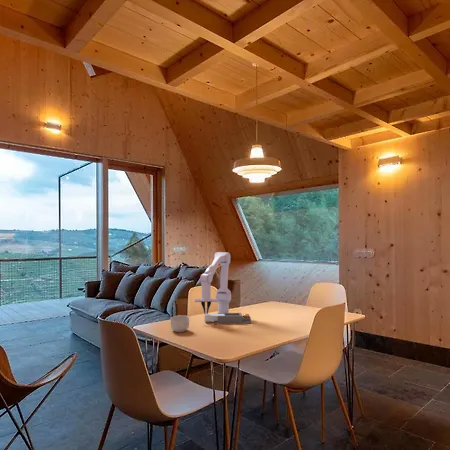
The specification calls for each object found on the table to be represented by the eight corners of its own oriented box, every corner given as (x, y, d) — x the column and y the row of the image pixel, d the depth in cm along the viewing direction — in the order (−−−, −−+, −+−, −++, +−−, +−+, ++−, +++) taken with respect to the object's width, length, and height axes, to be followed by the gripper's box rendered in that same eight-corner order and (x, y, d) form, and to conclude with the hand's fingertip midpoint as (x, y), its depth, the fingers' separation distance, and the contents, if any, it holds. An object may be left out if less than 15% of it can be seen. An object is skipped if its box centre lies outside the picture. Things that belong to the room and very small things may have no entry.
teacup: (188, 333, 209) (188, 319, 210) (168, 333, 209) (169, 319, 210) (190, 327, 223) (190, 314, 224) (172, 327, 223) (172, 314, 224)
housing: (214, 319, 244) (214, 312, 244) (248, 319, 245) (248, 312, 245) (214, 324, 232) (214, 316, 232) (251, 323, 233) (251, 316, 233)
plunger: (242, 318, 241) (242, 313, 241) (248, 318, 241) (248, 313, 241) (243, 320, 237) (243, 315, 237) (249, 320, 237) (249, 315, 237)
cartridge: (204, 318, 240) (204, 307, 241) (224, 318, 241) (224, 307, 241) (204, 321, 234) (204, 309, 234) (224, 320, 235) (224, 309, 235)
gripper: (194, 293, 233) (194, 314, 233) (217, 293, 234) (217, 314, 234) (194, 291, 240) (194, 312, 240) (217, 291, 241) (217, 312, 241)
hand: (206, 313), depth 237 cm, fingers closed, pressing on cartridge
